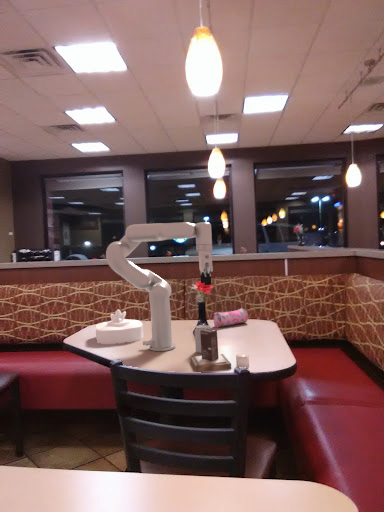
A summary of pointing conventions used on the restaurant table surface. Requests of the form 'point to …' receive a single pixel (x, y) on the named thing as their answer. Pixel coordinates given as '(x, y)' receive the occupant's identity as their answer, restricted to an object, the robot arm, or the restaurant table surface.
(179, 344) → the restaurant table surface
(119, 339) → the tissue box
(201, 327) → the can
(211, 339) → the box
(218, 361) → the stand
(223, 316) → the pencil case
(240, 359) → the white small block
